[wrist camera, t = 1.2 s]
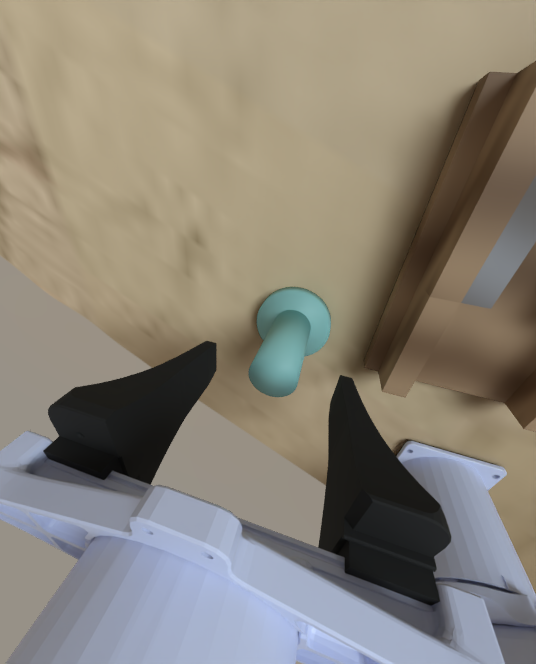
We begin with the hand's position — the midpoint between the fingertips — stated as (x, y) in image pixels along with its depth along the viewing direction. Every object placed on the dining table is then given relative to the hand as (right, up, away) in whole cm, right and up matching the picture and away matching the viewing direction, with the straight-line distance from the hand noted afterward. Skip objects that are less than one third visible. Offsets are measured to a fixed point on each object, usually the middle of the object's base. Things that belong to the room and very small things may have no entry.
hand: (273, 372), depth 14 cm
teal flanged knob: (+2, +3, +5) cm, 7 cm away
